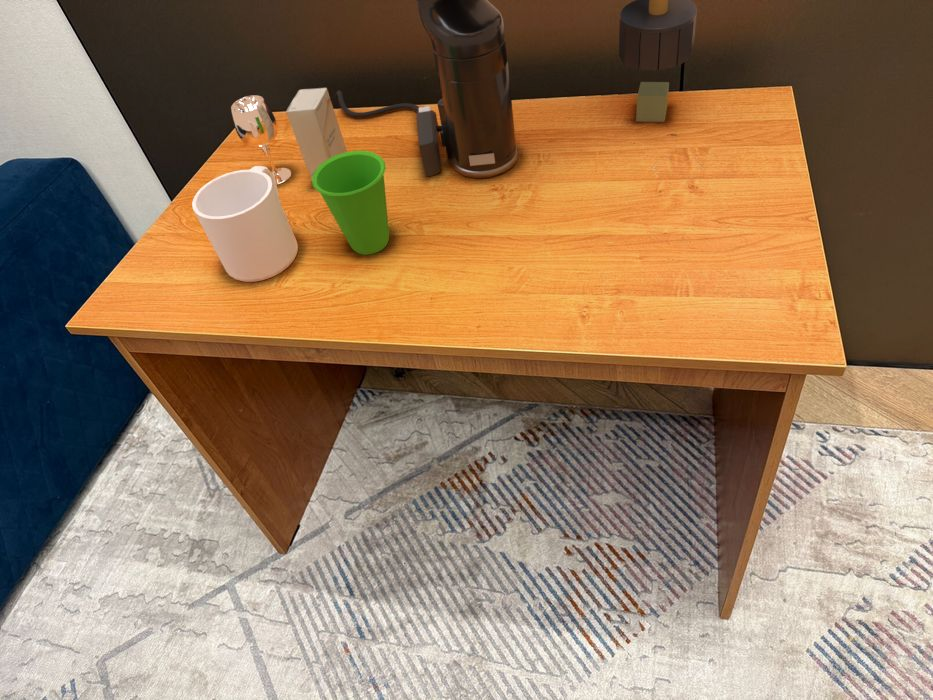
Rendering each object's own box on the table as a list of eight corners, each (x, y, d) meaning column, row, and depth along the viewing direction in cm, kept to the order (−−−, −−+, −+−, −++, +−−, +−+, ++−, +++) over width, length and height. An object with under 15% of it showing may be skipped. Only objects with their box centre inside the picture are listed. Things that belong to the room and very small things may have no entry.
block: (636, 121, 101) (637, 95, 98) (639, 106, 104) (640, 81, 101) (664, 122, 100) (666, 96, 97) (667, 107, 103) (669, 81, 100)
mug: (277, 286, 88) (247, 221, 81) (211, 278, 91) (176, 216, 83) (319, 224, 96) (294, 159, 88) (256, 219, 99) (228, 156, 91)
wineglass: (251, 185, 105) (219, 113, 96) (271, 164, 108) (242, 92, 99) (282, 190, 103) (252, 116, 94) (302, 167, 106) (275, 94, 97)
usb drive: (418, 145, 96) (438, 141, 96) (415, 102, 104) (433, 99, 104) (425, 177, 100) (444, 174, 100) (421, 133, 108) (439, 130, 108)
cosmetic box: (340, 186, 101) (315, 110, 92) (312, 187, 102) (284, 112, 93) (351, 161, 105) (328, 86, 96) (324, 163, 106) (298, 88, 97)
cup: (414, 224, 93) (396, 152, 85) (387, 269, 87) (366, 197, 79) (354, 217, 96) (331, 147, 87) (325, 261, 90) (298, 191, 82)
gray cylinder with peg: (631, 76, 92) (634, -23, 83) (610, 44, 99) (611, -52, 89) (704, 61, 92) (715, -41, 83) (678, 30, 99) (686, -68, 89)
